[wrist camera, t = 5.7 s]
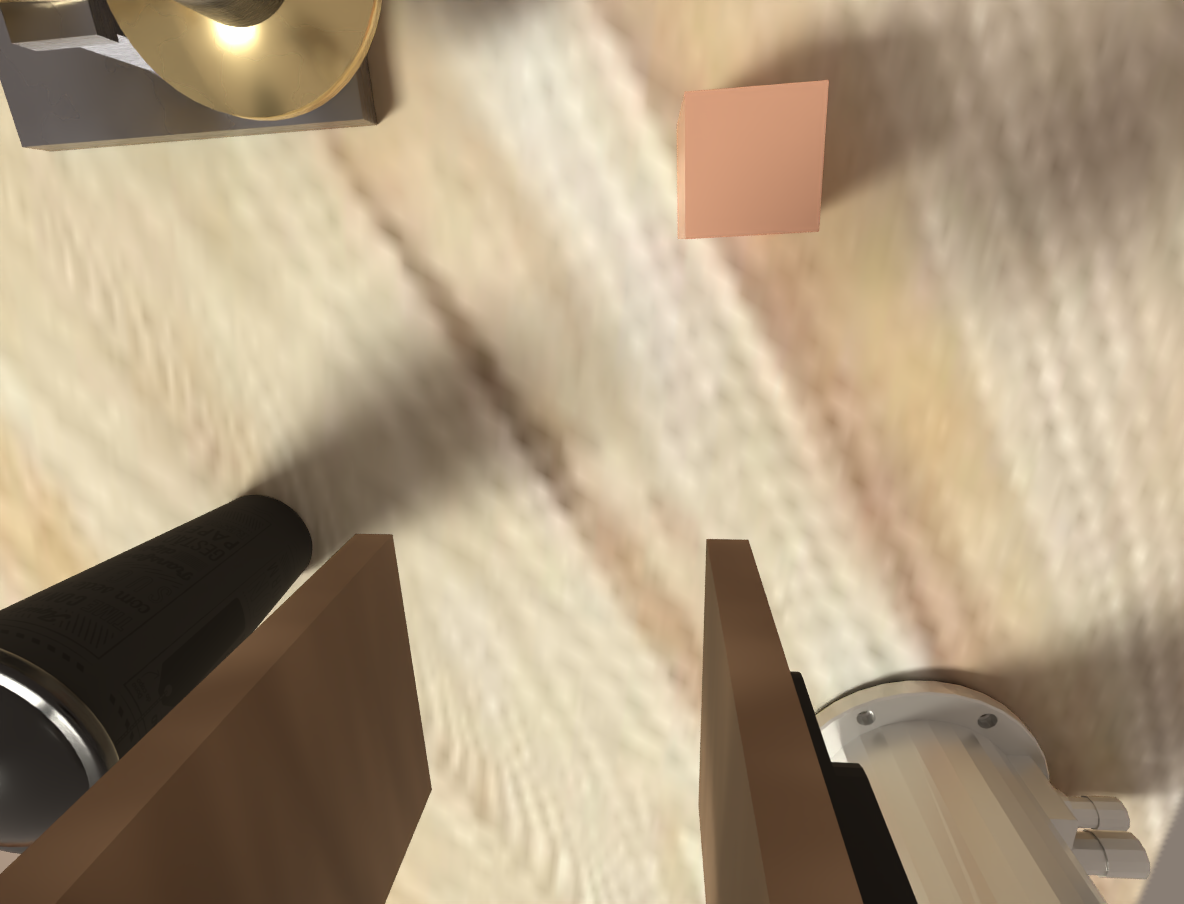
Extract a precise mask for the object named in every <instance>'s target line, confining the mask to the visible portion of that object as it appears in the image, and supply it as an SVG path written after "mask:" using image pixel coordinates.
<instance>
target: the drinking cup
mask: <svg viewBox="0 0 1184 904" xmlns="http://www.w3.org/2000/svg"><path fill="white" fill-rule="evenodd" d="M311 554H312V542H311V537H310V534H309V532H308V529H307V527H306V525H305V524H304V522H303V521H302V519H301V518H300V517H299V516H298V515H297V514H296V513H295V512H294V511H293V510H292V509H291V508H290V507H288V506H287V505H285V504H284V503H282V502H280V501H278V500H276V499H273V498H270V497H266V496H260V495H250V496H244V497H241V498H238V499H236V500H234V501H232V502H229V503H227V504H225V505H223V506H221V507H219V508H217V509H215V510H212V511H210V512H208V513H206V514H204V515H202V516H200V517H198V518H195V519H193V520H191V521H189V522H187V523H185V524H183V525H181V526H178V527H176V528H174V529H172V530H170V531H168V532H166V533H164V534H162V535H159V536H157V537H155V538H153V539H151V540H149V541H147V542H145V543H142V544H140V545H138V546H136V547H134V548H132V549H130V550H128V551H125V552H123V553H121V554H119V555H117V556H115V557H113V558H111V559H108V560H106V561H104V562H102V563H100V564H98V565H96V566H94V567H92V568H89V569H87V570H85V571H83V572H81V573H79V574H77V575H75V576H72V577H70V578H68V579H66V580H64V581H62V582H60V583H58V584H55V585H53V586H51V587H49V588H47V589H45V590H43V591H41V592H38V593H36V594H34V595H32V596H30V597H28V598H26V599H24V600H21V601H19V602H17V603H15V604H13V605H11V606H9V607H7V608H5V609H2V610H0V850H1V851H6V852H11V853H19V854H22V853H23V852H24V851H25V850H26V849H27V848H28V847H29V846H30V845H31V844H32V843H33V842H34V841H35V840H37V839H38V838H39V837H40V836H41V835H42V834H43V833H44V832H45V831H46V830H47V829H48V828H49V827H50V826H51V825H52V824H53V823H54V822H55V821H56V820H57V819H58V818H59V817H61V816H62V815H63V814H64V813H65V812H66V811H67V810H68V809H69V808H70V807H71V806H72V805H73V804H74V803H75V802H76V801H77V800H78V799H79V798H80V797H81V796H82V795H84V794H85V793H86V792H87V791H88V790H89V789H90V788H91V787H92V786H93V785H94V784H95V783H96V782H97V781H98V780H99V779H100V778H101V777H102V776H103V775H104V774H105V773H106V772H108V771H109V770H110V769H111V768H112V767H113V766H114V765H115V764H116V763H117V762H118V761H119V760H120V759H121V758H122V757H123V756H124V755H125V754H126V753H127V752H128V751H129V750H131V749H132V748H133V747H134V746H135V745H136V744H137V743H138V742H139V741H140V740H141V739H142V738H143V737H144V736H145V735H146V734H147V733H148V732H149V731H150V730H151V729H152V728H154V727H155V726H156V725H157V724H158V723H159V722H160V721H161V720H162V719H163V718H164V717H165V716H166V715H167V714H168V713H169V712H170V711H171V710H172V709H173V708H174V707H175V706H176V705H178V704H179V703H180V702H181V701H182V700H183V699H184V698H185V697H186V696H187V695H188V694H189V693H190V692H191V691H192V690H193V689H194V688H195V687H196V686H197V685H198V684H199V683H201V682H202V681H203V680H204V679H205V678H206V677H207V676H208V675H209V674H210V673H211V672H212V671H213V670H214V669H215V668H216V667H217V666H218V665H219V664H220V663H221V662H222V661H223V660H225V659H226V658H227V657H228V656H229V655H230V654H231V653H232V652H233V651H234V650H235V649H236V648H237V647H238V646H239V645H240V644H241V643H242V642H243V641H244V640H245V639H246V638H248V637H249V636H250V635H251V634H252V633H253V632H254V630H255V629H256V628H257V627H258V625H259V624H260V623H261V622H262V621H263V619H264V618H265V617H266V616H267V615H268V613H269V612H270V611H271V610H272V608H273V607H274V606H275V605H276V604H277V602H278V601H279V600H280V599H281V598H282V596H283V595H284V594H285V593H286V592H287V590H288V589H289V588H290V587H291V585H292V584H293V583H294V582H295V581H296V579H297V578H298V577H299V576H300V575H301V573H302V572H303V571H304V570H305V568H306V567H307V565H308V564H309V561H310V558H311Z"/></svg>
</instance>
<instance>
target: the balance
mask: <svg viewBox="0 0 1184 904" xmlns="http://www.w3.org/2000/svg"><path fill="white" fill-rule="evenodd" d="M381 5H382V0H0V80H1V83H2V86H3V89H4V92H5V95H6V99H7V102H8V105H9V108H10V111H11V114H12V117H13V120H14V123H15V126H16V129H17V132H18V135H19V138H20V141H21V144H22V147H25V148H32V149H39V150H46V151H61V150H73V149H85V148H98V147H110V146H122V145H135V144H147V143H160V142H172V141H184V140H197V139H209V138H221V137H234V136H246V135H259V134H271V133H283V132H296V131H308V130H321V129H333V128H345V127H358V126H370V125H377V122H376V115H375V108H374V102H373V95H372V89H371V82H370V76H369V69H368V63H367V56H366V54H367V52H368V50H369V48H370V45H371V42H372V40H373V37H374V34H375V32H376V28H377V24H378V20H379V16H380V12H381Z"/></svg>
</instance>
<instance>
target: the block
mask: <svg viewBox="0 0 1184 904" xmlns="http://www.w3.org/2000/svg"><path fill="white" fill-rule="evenodd" d="M828 85H829V80H822V81H809V82H797V83H785V84H773V85H761V86H748V87H736V88H724V89H712V90H699V91H687V92H685V93H684V97H683V101H682V106H681V110H680V114H679V118H678V122H677V221H678V239H696V238H713V237H731V236H748V235H766V234H783V233H801V232H818V231H819V224H820V208H821V193H822V177H823V162H824V147H825V131H826V116H827V101H828Z"/></svg>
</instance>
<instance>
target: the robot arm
mask: <svg viewBox="0 0 1184 904" xmlns="http://www.w3.org/2000/svg"><path fill="white" fill-rule="evenodd" d="M790 673H791V676H792V680H793V683H794V686H795V689H796V692H797V695H798V699H799V702H800V705H801V708H802V711H803V714H804V718H805V721H806V724H807V727H808V730H809V733H810V737H811V740H812V743H813V746H814V749H815V752H816V756H817V759H818V762H819V765H820V768H821V771H822V775H823V778H824V781H825V784H826V787H827V790H828V794H829V797H830V800H831V803H832V806H833V809H834V813H835V816H836V819H837V822H838V825H839V828H840V831H841V835H842V838H843V841H844V844H845V847H846V850H847V854H848V857H849V860H850V863H851V866H852V869H853V873H854V876H855V879H856V882H857V885H858V888H859V892H860V895H861V898H862V901H863V904H1108V903H1107V902H1106V900H1105V899H1104V897H1103V896H1102V895H1101V893H1100V892H1099V890H1098V889H1097V887H1096V886H1095V884H1094V883H1093V881H1092V880H1091V879H1090V877H1089V876H1088V875H1097V876H1099V877H1100V878H1121V879H1147V878H1148V876H1149V874H1150V862H1149V859H1148V856H1147V854H1146V851H1145V849H1144V848H1143V846H1142V844H1141V843H1140V841H1139V840H1138V839H1137V838H1136V837H1135V836H1134V835H1133V834H1132V833H1130V832H1127V830H1128V829H1129V827H1130V819H1129V816H1128V812H1127V810H1126V808H1125V807H1124V805H1123V803H1122V802H1121V801H1120V800H1119V799H1117V798H1116V797H1108V796H1081V797H1067V796H1066V795H1065V794H1064V793H1063V792H1061V791H1059V790H1058V789H1054V788H1053V786H1052V785H1051V784H1050V782H1049V771H1048V767H1047V762H1046V758H1045V755H1044V754H1043V752H1042V750H1041V748H1040V746H1039V744H1038V742H1037V741H1036V739H1035V738H1034V736H1033V735H1032V734H1031V733H1030V731H1029V730H1028V729H1027V727H1026V726H1025V725H1024V724H1023V722H1022V721H1021V720H1020V719H1019V718H1018V717H1017V716H1016V715H1015V714H1014V713H1013V712H1011V711H1010V710H1009V709H1008V708H1007V707H1006V706H1005V705H1003V704H1002V703H1000V702H998V701H996V700H995V699H993V698H991V697H989V696H987V695H986V694H984V693H981V692H978V691H975V690H973V689H970V688H967V687H964V686H961V685H956V684H950V683H944V682H938V681H902V682H894V683H886V684H881V685H878V686H874V687H871V688H867V689H863V690H860V691H857V692H855V693H853V694H851V695H848V696H846V697H844V698H842V699H840V700H838V701H836V702H834V703H833V704H831V705H830V706H828V707H827V708H825V709H824V710H822V711H821V712H819V713H818V714H817V715H816V716H815V713H814V710H813V707H812V704H811V701H810V698H809V695H808V692H807V689H806V686H805V683H804V680H803V677H802V675H801V673H800V672H790ZM1077 828H1091V829H1084V830H1083V831H1077Z"/></svg>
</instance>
